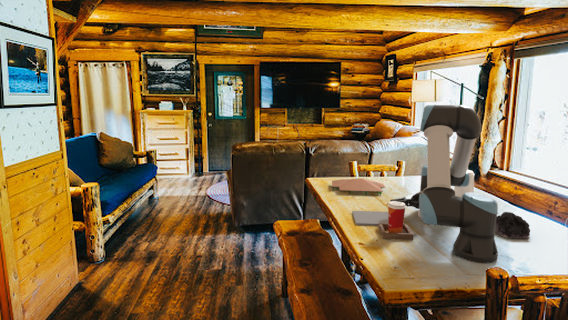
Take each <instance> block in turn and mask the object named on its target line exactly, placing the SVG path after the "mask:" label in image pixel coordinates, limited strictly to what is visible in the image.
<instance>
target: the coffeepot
mask: <svg viewBox="0 0 568 320" xmlns="http://www.w3.org/2000/svg"><path fill="white" fill-rule="evenodd" d="M466 172H468V173H469V184H468V186H466V187H458V186H453V190H454V191H455V196H457V197H463V194H464V193H466V192H467V193H468V192H471V193H475V174H476V173H474V171H473V170H472V169H471V170H470V169H469V167H468V168H467V171H466Z"/></svg>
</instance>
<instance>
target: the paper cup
mask: <svg viewBox="0 0 568 320" xmlns="http://www.w3.org/2000/svg"><path fill="white" fill-rule="evenodd" d="M387 207H388V208H387V212H388V229H387V230H388V233H403V230H402V229H403V224H404V223H405V222H404V219H405V214H406V213H405V212H406V209H407V206H405V203H403V202H397V201H391V202H390V201H389V202H388V204H387Z"/></svg>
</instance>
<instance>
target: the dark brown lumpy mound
mask: <svg viewBox="0 0 568 320" xmlns="http://www.w3.org/2000/svg"><path fill="white" fill-rule="evenodd" d="M530 233H531V229H530V224H529V223H528V222H527V221H526V220H525V219H523V218H522V216H519V215H516V214H515V213H513V212H510V211H504V212H502V213H501V214H500V215H497V219H496V227H495V234H498V235H499V236H501V237H503V238H506V239H528V238H529V237H530V235H531V234H530ZM528 236H529V237H528Z"/></svg>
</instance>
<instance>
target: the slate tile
mask: <svg viewBox="0 0 568 320" xmlns="http://www.w3.org/2000/svg"><path fill="white" fill-rule="evenodd" d="M352 216H353V220H354V223H355V225H356V226H367V227H368V226H370V227H371V226H372V227H374V226H375V227H378V225H379V223H388V211H377V210H376V211H374V210H352Z"/></svg>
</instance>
